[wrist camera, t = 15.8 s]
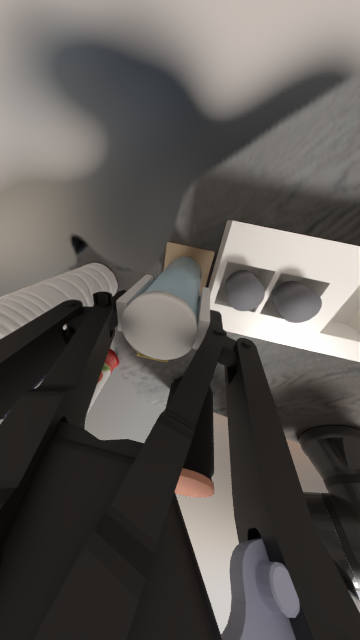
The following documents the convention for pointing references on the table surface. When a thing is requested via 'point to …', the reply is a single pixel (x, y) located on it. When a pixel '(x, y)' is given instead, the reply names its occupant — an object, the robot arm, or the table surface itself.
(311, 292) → the button
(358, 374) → the table surface
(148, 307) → the cartridge
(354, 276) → the housing
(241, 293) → the button
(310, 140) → the table surface
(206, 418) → the coffee jar
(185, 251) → the coaster
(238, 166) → the table surface
